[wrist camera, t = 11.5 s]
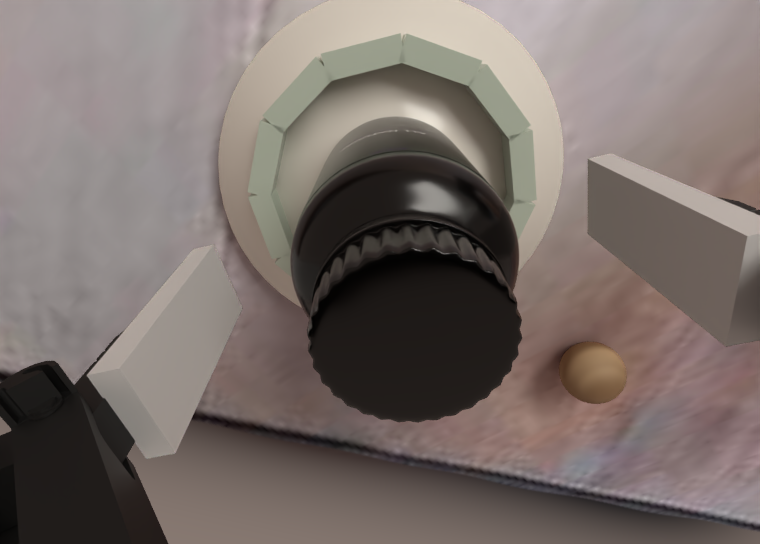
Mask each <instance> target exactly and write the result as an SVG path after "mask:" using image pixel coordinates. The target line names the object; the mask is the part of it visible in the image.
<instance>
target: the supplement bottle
mask: <svg viewBox="0 0 760 544" xmlns="http://www.w3.org/2000/svg"><path fill="white" fill-rule="evenodd" d="M290 268H291V276H292V281H293V286H294V290H295V292H296V295H297V298H298V300H299V302H300V304H301V306H302V308H303V310H304V312H305V313H306V315H307V317H308V318H309V324H308V328H307V334H308V338H309V340H310V341H309V345H308V352H309V353H310V355H311V357H312V358H313V368H314V369H315V370H316V371H317V372H318V373H319V374H320V376H321V381H322V383H323V384H325V385H326V386H328V387H329V388H330V389H331V392H332V393H333V395H334V396H336V397H338V398H341V399H342V400H343V401H344V402H345V404H346V405H347V406H350V407H353V408H357V409H358V410H359V411H360V412H362V413H363V414H367V415H374V416H375V417H377V418H379V419H391V420H394V421H397V422H405V421H412V422H422V421H425V420H438V419H440V418H442V417H444V416H452V415H456V414H458V413H459V412H460V411H462V410H464V409H469V408H472V407H473V406H474V405H475V404H476V403H477V402H478V401H480V400H482V399H485V398H487V397H488V395H489V394H490V392H491V391H492V390H493V389H495V388H496V387H498V386H499V385H501V382H502V380H503V377H504V376H505V375H507V374H508V373H509V372H510V371H511V368H512V362H513V361H514V360H515V359H516V357H517V356H518V345H519V343H520V341H521V339H522V334H521V331H520V326H521V322H522V319H521V315H520V313H519V311H518V310H517V301H516V298H515V296H514V294H513V289H514V287H515V283H516V279H517V275H518V268H519V244H518V238H517V233H516V229H515V226H514V223H513V220H512V218H511V216H510V214H509V212H508V210H507V208H506V207H505V205H504V203H503V201H502V200H501V198H500V197H499V195H498V194H497V193H496V191H495V190H494V189H493V188H492V186H491V185H490V184H489V183H488V182H487V181H486V179H485V178H484V177H483V176H482V175H481V174H480V173H479V172H478V170H477V169H476V168H475V167H474V166H473V165H472V164H471V162H470V161H469V160H468V159H467V158H466V157H465V156H464V154H463V153H462V152H461V151H460V150H459V149H458V148H457V146H456V145H455V144H454V143H453V142H452V141H451V140H450V139H449V138H448V137H447V136H446V135H444V134H443V133H442V132H441V131H439V130H438V129H436V128H435V127H433V126H431V125H429V124H427V123H425V122H422V121H420V120H416V119H413V118H408V117H398V116H395V117H383V118H378V119H374V120H371V121H368V122H366V123H364V124H362V125H360V126H358V127H356V128H355V129H353V130H352V131H350V132H349V133H348V134H346V135H345V136H344V137H343V138H342V139H341V140H340V141H339V142H338V143H337V145H336V146H335V147H334V149H333V150H332V151H331V153H330V155H329V157H328V158H327V160H326V162H325V164H324V166H323V168H322V170H321V172H320V175H319V177H318V179H317V181H316V183H315V185H314V187H313V190H312V192H311V194H310V196H309V198H308V200H307V203H306V205H305V207H304V209H303V211H302V214H301V216H300V218H299V220H298V223H297V226H296V230H295V233H294V236H293V241H292V246H291V255H290Z"/></svg>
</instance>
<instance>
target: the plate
mask: <svg viewBox="0 0 760 544" xmlns="http://www.w3.org/2000/svg"><path fill="white" fill-rule="evenodd" d="M395 116H398V117H408V118H413V119H416V120H420V121H422V122H425V123H427V124H429V125H431V126H433V127H435V128H436V129H438V130H439V131H441V132H442V133H443V134H444V135H446V136H447V137H448V138H449V139H450V140H451V141H452V142H453V143H454V144H455V145H456V146H457V148H458V149H459V150H460V151H461V152H462V153H463V154H464V156H465V157H466V158H467V159H468V160H469V161H470V162H471V164H472V165H473V166H474V167H475V168H476V169H477V170H478V172H479V173H480V174H481V175H482V176H483V177H484V178H485V179H486V181H487V182H488V183H489V184H490V185H491V186H492V188H493V189H494V190H495V191H496V193H497V194H498V195H499V197H500V198H501V200H502V201H503V203H504V205H505V207H506V208H507V210H508V212H509V214H510V216H511V218H512V220H513V223H514V226H515V229H516V233H517V238H518V244H519V268H518V272H519V271H520V270H521V269H522V267H523V266H524V265H525V263H526V262H527V261H528V260H529V258H530V257H531V256H532V254H533V253H534V251H535V250H536V248H537V246H538V245H539V243H540V241H541V240H542V238H543V236H544V234H545V232H546V230H547V228H548V225H549V223H550V221H551V219H552V216H553V213H554V210H555V207H556V204H557V200H558V197H559V193H560V187H561V181H562V175H563V156H564V149H563V138H562V128H561V124H560V119H559V115H558V111H557V107H556V104H555V101H554V98H553V96H552V93H551V91H550V88H549V86H548V83H547V81H546V80H545V78H544V76H543V74H542V73H541V71H540V69H539V67H538V66H537V64H536V62H535V61H534V59H533V58H532V57H531V56H530V54H529V53H528V52H527V51H526V49H525V48H524V47H523V45H522V44H521V43H520V42H519V41H518V40H517V39H516V38H515V37H514V36H513V35H512V34H511V33H510V32H509V31H507V30H506V29H505V28H504V27H503V26H502V25H501V24H500V23H498V22H497V21H495V20H494V19H492V18H491V17H489V16H488V15H486V14H485V13H483V12H482V11H480V10H479V9H476V8H474V7H472V6H470V5H468V4H466V3H464V2H462V1H460V0H330V1H327V2H324V3H322V4H320V5H318V6H316V7H314V8H313V9H311V10H309V11H307V12H305V13H303V14H301V15H300V16H298V17H297V18H296V19H294V20H293V21H292V22H290V23H289V24H288V25H286V26H285V27H284V28H282V29H281V30H280V31H278V32H277V33H276V34H275V35H274V36H273V37H272V38H271V39H270V40H269V41H268V42H267V43H266V44H265V45H264V46H263V48H262V49H261V50H260V51H259V52H258V53H257V55H256V56H255V58H254V59H253V60H252V62H251V63H250V64H249V66H248V67H247V68H246V70H245V71H244V73H243V75H242V77H241V79H240V81H239V83H238V84H237V86H236V88H235V90H234V92H233V94H232V97H231V100H230V103H229V105H228V108H227V111H226V114H225V116H224V121H223V126H222V131H221V136H220V142H219V157H218V170H219V184H220V190H221V195H222V200H223V205H224V209H225V212H226V215H227V218H228V221H229V223H230V226H231V229H232V231H233V233H234V235H235V237H236V239H237V241H238V243H239V245H240V247H241V249H242V250H243V252H244V253H245V255H246V256H247V258H248V259H249V261H250V262H251V264H252V265H253V266H254V267H255V268H256V270H257V271H258V272H259V273H260V274H261V275H262V277H263V278H264V279H265V280H266V281H267V282H268V283H269V284H270V285H272V286H273V287H274V288H275V289H276V290H277V291H278V292H279V293H280V294H282V295H283V296H285V297H286V298H287V299H289V300H290V301H291V302H293V303H294V304H296V305H298V306H299V307H301V308H302V306H301V304H300V302H299V300H298V298H297V295H296V292H295V290H294V286H293V281H292V276H291V268H290V255H291V246H292V241H293V236H294V233H295V230H296V226H297V223H298V220H299V218H300V216H301V214H302V211H303V209H304V207H305V205H306V203H307V200H308V198H309V196H310V194H311V192H312V190H313V187H314V185H315V183H316V181H317V179H318V177H319V175H320V172H321V170H322V168H323V166H324V164H325V162H326V160H327V158H328V157H329V155H330V153H331V151H332V150H333V149H334V147H335V146H336V145H337V143H338V142H339V141H340V140H341V139H342V138H343V137H344V136H345V135H346V134H348V133H349V132H350V131H352V130H353V129H355V128H356V127H358V126H360V125H362V124H364V123H366V122H368V121H371V120H374V119H378V118H383V117H395Z"/></svg>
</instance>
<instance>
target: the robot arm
mask: <svg viewBox="0 0 760 544" xmlns="http://www.w3.org/2000/svg"><path fill="white" fill-rule="evenodd" d="M588 234H589V235H590V236H591V237H592V238H594V239H595V240H596V241H597V242H599V243H600V244H601V245H602V246H603V247H605V248H606V249H607V250H608V251H610V252H611V253H612V254H613V255H614V256H616V257H617V258H618V259H619V260H621V261H622V262H623V263H624V264H625V265H627V266H628V267H629V268H630V269H632V270H633V271H634V272H635V273H636V274H638V275H639V276H640V277H641V278H643V279H644V280H645V281H646V282H647V283H649V284H650V285H651V286H652V287H654V288H655V289H656V290H657V291H658V292H660V293H661V294H662V295H663V296H665V297H666V298H667V299H668V300H670V301H671V302H672V303H673V304H674V305H676V306H677V307H678V308H679V309H681V310H682V311H683V312H684V313H685V314H687V315H688V316H689V317H690V318H692V319H693V320H694V321H695V322H696V323H698V324H699V325H700V326H701V327H703V328H704V329H705V330H706V331H707V332H709V333H710V334H711V335H712V336H714V337H715V338H716V339H717V340H718V341H720V342H721V343H722V344H723V345H725V346H726V347H728V346H733V345H738V344H743V343H748V342H753V341H759V340H760V210H756V208H754V207H751V206H749V205H746V204H744V203H741V202H739V201H734V200H729V199H723V198H718V197H714V196H712V195H710V194H707V193H705V192H702V191H700V190H698V189H695V188H693V187H690V186H688V185H686V184H683V183H681V182H678V181H676V180H674V179H671V178H669V177H666V176H664V175H662V174H659V173H657V172H655V171H652V170H650V169H647V168H645V167H643V166H640V165H638V164H635V163H633V162H631V161H628V160H626V159H623V158H621V157H619V156H616V155H614V154H606V155H602V156H598V157H593V158H589V159H588ZM242 309H243V308H242V306H241V303H240V301H239V299H238V297H237V295H236V292H235V290H234V288H233V286H232V283H231V281H230V279H229V277H228V274H227V272H226V270H225V268H224V266H223V263H222V261H221V259H220V257H219V254H218V252H217V250H216V248H215V245H209V246H205V247H200V248H196V249H193V250H192V252H191V253H190V254H189V255H188V256H187V257H186V259H185V260H184V261H183V262H182V263H181V265H180V266H179V267H178V268H177V269H176V270H175V272H174V273H173V274H172V275H171V276H170V278H169V279H168V280H167V281H166V282H165V283H164V285H163V286H162V287H161V288H160V289H159V291H158V292H157V293H156V294H155V295H154V296H153V298H152V299H151V300H150V301H149V302H148V303H147V305H146V306H145V307H144V308H143V309H142V311H141V312H140V313H139V314H138V315H137V316H136V318H135V319H134V320H133V321H132V322H131V324H130V325H129V326H128V327H127V328H126V329H125V330H124V331H123V332H122V333H120V334H119V335H118V336H117V337H115V338H114V340H113V341H112V342H111V343H110V344H109V345H108V347H107V348H106V349H105V351H104V352H102V354H101V355H100V356H99V357H98V358H97V361H96V362H94V363H93V364H92V365H91V366H90V367H89V369H88V370H87V371H86V372H85V373H84V374H83V376H82V377H81V378H80V379H79V380H78V381H77V383H76V384H75V385H73V383H72V382H71V381H70V379H69V378H68V377H67V375H66V374H65V373H64V371H63V370H62V369H61V367H60V366H59V364H58V363H56V362H55V361H44V362H41V363H37V364H34V365H32V366H29V367H27V368H25V369H22V370H21V371H19V372H17V373H15V374H14V375H12V376H10V377H8V378H7V379H6V380H4V381H3V382H2V383H0V416H1V418H3V420H4V421H5V422H6V423H7V424H8V425H9V426H10V428H11V432H8V433H6V434H3V435H1V436H0V544H168V542H167V540H166V537H165V535H164V533H163V531H162V528H161V526H160V524H159V522H158V520H157V517H156V515H155V512H154V510H153V508H152V506H151V503H150V501H149V499H148V497H147V494H146V492H145V490H144V488H143V485H142V483H141V481H140V479H139V477H138V474H137V472H136V470H135V467H134V465H133V464H132V463H131V461H130V460H129V459H128V457H127V455H128V453H129V451H130V449H131V448H132V446H133V444H134V442H135V444H136V445H137V446H138V448H139V449H140V451H141V452H142V453H143V455H144V456H145V458H146V459H149V458H154V457H159V456H164V455H169V454H175V453H176V451H177V449H178V446H179V444H180V442H181V440H182V438H183V436H184V434H185V431H186V429H187V427H188V425H189V423H190V421H191V419H192V417H193V414H194V412H195V410H196V408H197V406H198V404H199V401H200V399H201V397H202V395H203V393H204V391H205V389H206V386H207V384H208V382H209V380H210V378H211V376H212V373H213V371H214V369H215V367H216V365H217V363H218V361H219V358H220V356H221V354H222V352H223V350H224V348H225V345H226V343H227V341H228V339H229V337H230V335H231V332H232V330H233V328H234V326H235V324H236V322H237V320H238V317H239V315H240V313H241V311H242Z"/></svg>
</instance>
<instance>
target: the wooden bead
mask: <svg viewBox="0 0 760 544" xmlns="http://www.w3.org/2000/svg"><path fill="white" fill-rule="evenodd" d="M559 375H560V379H561V381H562V383H563V385H564V387H565V388H566V390H567V391H568V392H569V393H570V394H571V395H572V396H574V397H575V398H577V399H579V400H581V401H583V402H587V403H592V404H601V403H606V402H609V401H611V400H613V399H614V398H616V397H617V396H618V395H619V394H620V393H621V392H622V390H623V388H624V386H625V384H626V378H627V375H626V368H625V365H624V363H623V361H622V359H621V358H620V356H619V355H618V354H617V353H616V352H615V351H614V350H612V349H611V348H610V347H608V346H606V345H604V344H601V343H597V342H582V343H578V344H576V345H574V346H572V347H570V348H569V349H568V350H567V351H566V352H565V353H564V355H563V356H562V358H561V361H560V364H559Z"/></svg>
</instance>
